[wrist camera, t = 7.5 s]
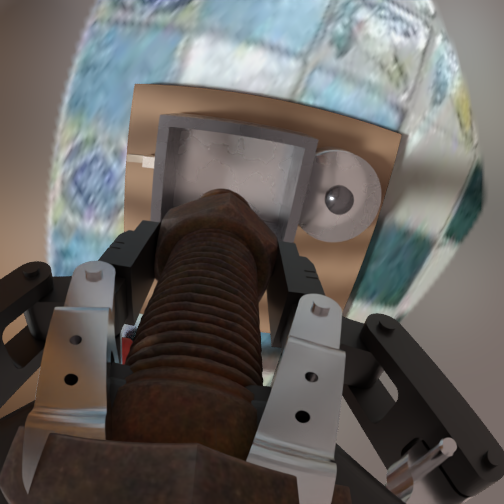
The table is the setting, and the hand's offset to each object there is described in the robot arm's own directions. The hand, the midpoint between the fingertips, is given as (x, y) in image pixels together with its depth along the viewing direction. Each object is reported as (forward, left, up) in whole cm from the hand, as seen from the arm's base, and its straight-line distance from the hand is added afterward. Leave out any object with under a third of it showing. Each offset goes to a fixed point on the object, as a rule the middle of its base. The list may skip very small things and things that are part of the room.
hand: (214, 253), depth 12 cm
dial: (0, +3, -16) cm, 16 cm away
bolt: (0, 0, -5) cm, 5 cm away
